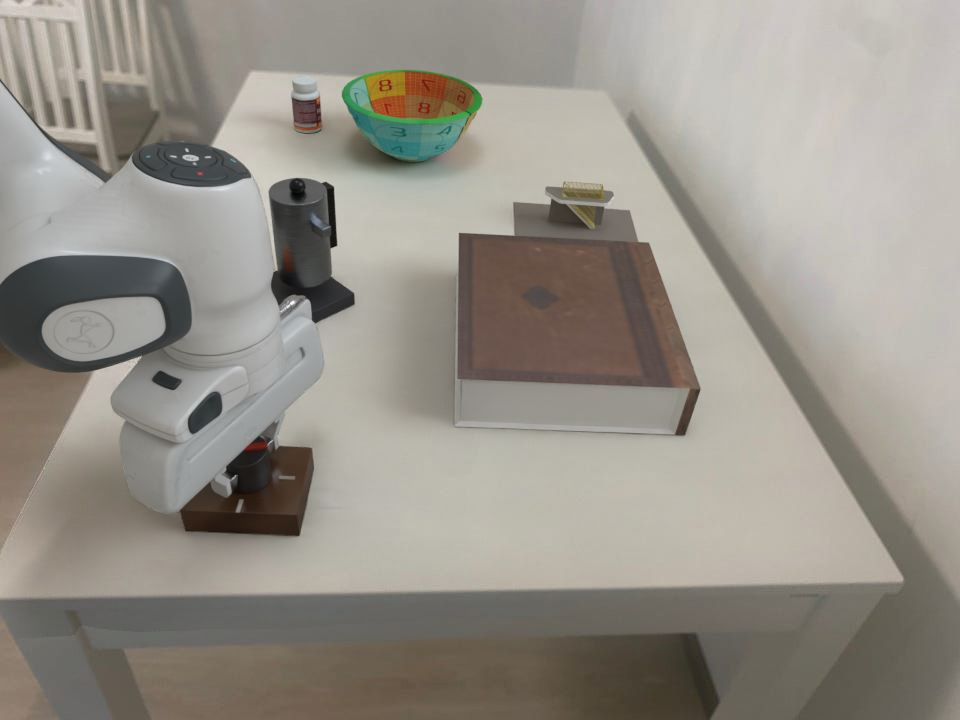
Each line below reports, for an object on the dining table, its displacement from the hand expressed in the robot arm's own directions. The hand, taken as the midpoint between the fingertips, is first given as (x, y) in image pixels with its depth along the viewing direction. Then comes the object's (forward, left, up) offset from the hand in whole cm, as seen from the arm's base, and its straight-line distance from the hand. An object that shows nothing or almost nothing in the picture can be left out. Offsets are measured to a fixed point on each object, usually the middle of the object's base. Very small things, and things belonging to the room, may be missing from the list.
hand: (246, 469), depth 68 cm
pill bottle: (+52, +64, -4) cm, 83 cm away
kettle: (+23, +22, 0) cm, 32 cm away
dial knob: (0, 0, -1) cm, 1 cm away
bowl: (+60, +46, -4) cm, 76 cm away
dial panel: (0, 0, -4) cm, 4 cm away
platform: (+63, +13, -4) cm, 64 cm away
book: (+39, -4, -4) cm, 39 cm away
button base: (+19, +23, -4) cm, 30 cm away
